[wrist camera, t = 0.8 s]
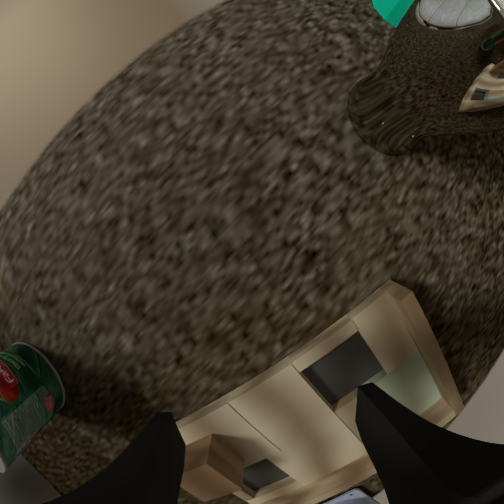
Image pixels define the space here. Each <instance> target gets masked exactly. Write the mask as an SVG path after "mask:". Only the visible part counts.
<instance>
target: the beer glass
mask: <svg viewBox="0 0 504 504" xmlns="http://www.w3.org/2000/svg"><path fill="white" fill-rule="evenodd" d="M347 109H348V115H349V119H350V122H351V124H352V126H353V128H354V130H355V131H356V133H357V134H358V136H359V137H360V138H361V139H362V140H363V141H364V142H365V143H366V144H367V145H369V146H370V147H372V148H373V149H375V150H377V151H379V152H382V153H385V154H391V155H396V154H402V153H405V152H407V151H409V150H411V149H413V148H414V147H415V146H416V145H418V144H419V143H420V142H421V141H422V140H423V139H425V138H427V137H430V136H440V135H463V134H477V133H487V132H494V131H499V130H503V129H504V0H413V2H412V3H411V5H410V6H409V7H408V9H407V10H406V11H405V13H404V14H403V16H402V18H401V20H400V22H399V24H398V26H397V28H396V29H395V31H394V33H393V36H392V38H391V40H390V43H389V45H388V47H387V50H386V52H385V54H384V57H383V59H382V61H381V63H380V65H379V67H378V68H377V70H376V71H375V72H374V73H372V74H370V75H369V76H367V77H365V78H363V79H362V80H360V81H359V82H358V83H357V84H356V85H355V86H354V87H353V88H352V90H351V92H350V94H349V97H348V103H347Z"/></svg>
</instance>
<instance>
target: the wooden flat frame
mask: <svg viewBox="0 0 504 504" xmlns="http://www.w3.org/2000/svg"><path fill="white" fill-rule="evenodd" d="M371 382H373V383H374V384H376V385H377V386H378V387H379V388H381V389H382V390H383V391H385V392H386V393H387V394H389V395H390V396H391V397H393V398H394V399H395V400H397V401H398V402H399V403H401V404H402V405H404V406H405V407H407V408H408V409H410V410H411V411H413V412H414V413H416V414H417V415H419V416H421V417H422V418H424V419H426V420H428V421H429V422H431V423H433V424H435V425H437V426H439V427H443V426H444V425H445V424H446V423H448V422H449V421H450V420H451V419H452V418H454V417H455V416H456V415H457V414H458V413H459V412H460V411H461V410H463V409H464V406H463V403H462V400H461V397H460V395H459V392H458V389H457V387H456V384H455V382H454V379H453V377H452V374H451V372H450V369H449V367H448V365H447V362H446V360H445V358H444V355H443V353H442V351H441V348H440V346H439V344H438V342H437V340H436V337H435V335H434V333H433V331H432V329H431V327H430V325H429V323H428V321H427V319H426V317H425V315H424V313H423V311H422V309H421V307H420V305H419V303H418V301H417V299H416V297H415V295H414V293H413V291H411V290H409V289H407V288H405V287H404V286H402V285H400V284H398V283H396V282H394V281H392V280H390V279H389V280H388V281H387V282H386V283H384V284H383V285H382V286H381V287H380V288H378V289H377V290H376V291H375V292H374V293H372V294H371V295H370V296H369V297H367V298H366V299H365V300H364V301H362V302H361V303H360V304H359V305H357V306H356V307H355V308H354V309H352V310H351V311H350V312H348V313H347V314H346V315H345V316H343V317H342V318H341V319H339V320H338V321H337V322H335V323H334V324H333V325H331V326H330V327H329V328H327V329H326V330H324V331H323V332H322V333H320V334H319V335H317V336H316V337H315V338H313V339H312V340H310V341H309V342H308V343H306V344H305V345H303V346H302V347H300V348H299V349H298V350H296V351H295V352H293V353H292V354H290V355H289V356H287V357H286V358H284V359H283V360H281V361H280V362H278V363H277V364H275V365H274V366H272V367H270V368H269V369H267V370H266V371H264V372H263V373H261V374H259V375H258V376H256V377H255V378H253V379H251V380H250V381H248V382H247V383H245V384H243V385H242V386H240V387H238V388H237V389H235V390H233V391H231V392H230V393H228V394H226V395H225V396H223V397H221V398H219V399H218V400H216V401H214V402H212V403H210V404H209V405H207V406H205V407H203V408H201V409H200V410H198V411H196V412H194V413H192V414H190V415H188V416H186V417H184V418H182V419H181V420H179V421H177V422H176V425H177V427H178V429H179V431H180V433H181V436H182V438H183V440H184V442H185V444H186V445H188V444H190V443H192V442H195V441H197V440H199V439H201V438H203V437H205V436H208V435H210V434H213V435H214V436H216V437H217V438H218V439H219V440H220V441H222V442H223V443H224V444H225V445H226V446H228V447H229V448H230V449H231V450H233V451H234V452H235V453H236V454H238V455H239V456H240V457H242V458H243V459H244V473H243V489H242V490H239V491H237V492H234V493H233V494H235V495H236V496H238V497H240V498H241V499H243V500H245V501H246V502H248V503H250V504H316V503H318V502H320V501H322V500H325V499H327V498H329V497H331V496H333V495H336V494H338V493H340V492H342V491H344V490H346V489H348V488H350V487H352V486H354V485H355V484H357V483H359V482H361V481H363V480H365V479H366V478H368V477H370V476H372V475H373V474H375V473H377V471H376V469H375V467H374V465H373V463H372V461H371V459H370V457H369V455H368V453H367V451H366V449H365V447H364V445H363V443H362V440H361V438H360V435H359V432H358V428H357V425H356V422H355V417H356V404H357V390H358V386H360V385H364V384H368V383H371Z"/></svg>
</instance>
